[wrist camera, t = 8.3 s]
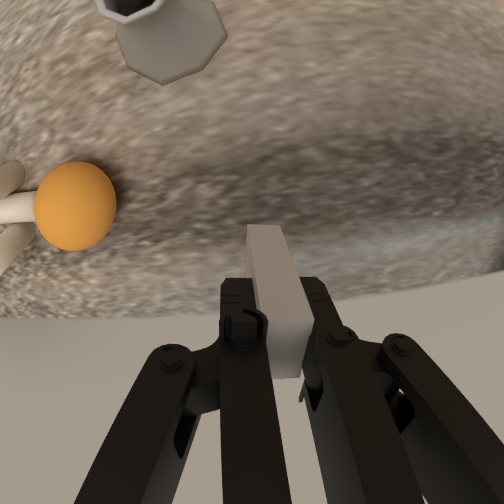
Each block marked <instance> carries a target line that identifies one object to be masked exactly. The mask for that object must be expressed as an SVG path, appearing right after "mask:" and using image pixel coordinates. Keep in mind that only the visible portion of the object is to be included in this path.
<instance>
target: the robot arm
mask: <svg viewBox="0 0 504 504" xmlns="http://www.w3.org/2000/svg"><path fill="white" fill-rule="evenodd" d="M302 369H303V373H304V377H305V379H304V383H303V386H302V389H301V392H300V396H299V402H302V401H303V398H305V402H306V407H307V411H308V415H309V420H310V424H311V429H312V433H313V438H314V442H315V447H316V451H317V456H318V461H319V465H320V469H321V474H322V479H323V484H324V488H325V493H326V497H327V503H328V504H425V503H424V500H423V496H424V498H425V499H426V501H427V502H428V504H504V444H503V443H502V442H501V440H500V439H499V438H498V437H497V435H496V434H495V433H494V432H493V430H492V429H491V428H490V427H489V425H488V424H487V423H486V422H485V420H484V419H483V418H482V417H481V416H480V414H479V413H478V412H477V411H476V410H475V408H474V407H473V406H472V405H471V404H470V403H469V401H468V400H467V399H466V398H465V397H464V395H463V394H462V393H461V392H460V391H459V390H458V388H456V386H455V385H454V384H453V383H452V381H451V380H450V379H449V378H448V377H447V376H446V375H445V374H444V373H443V371H442V370H441V369H440V368H439V367H438V366H437V365H436V363H435V362H434V361H433V360H432V359H431V358H430V357H429V356H428V355H427V354H426V352H425V351H423V349H422V348H421V347H420V346H419V345H418V344H417V343H416V342H415V341H414V340H413V339H412V338H410V337H408V336H406V335H404V334H398V333H394V334H389V335H388V336H386V337H385V339H384V341H383V343H374V342H368V341H363V340H360V339H359V338H358V336H357V335H356V333H355V332H354V331H353V330H351V329H350V328H348V327H346V326H343V324H342V322H341V320H340V317H339V315H338V313H337V311H336V308H335V306H334V304H333V302H332V301H331V297H330V295H329V294H328V291H327V289H326V287H325V284H324V283H322V282H321V281H320V280H319V279H318V278H317V277H299V275H298V273H297V270H296V267H295V265H294V262H293V259H292V257H291V254H290V251H289V249H288V246H287V243H286V241H285V238H284V236H283V233H282V230H281V228H280V225H251V224H247V242H246V263H245V278H226V279H225V280H224V282H223V283H222V285H221V293H220V320H219V337H218V339H217V340H216V341H215V343H213V344H212V345H210V346H209V347H207V348H204V349H201V350H197V351H193V352H191V351H190V350H189V349H188V348H187V347H184V346H182V345H179V344H167V345H162V346H160V347H158V348H156V349H154V350H153V352H152V353H151V354H150V355H149V357H148V358H147V360H146V362H145V364H144V366H143V368H142V369H141V371H140V373H139V375H138V377H137V379H136V380H135V382H134V384H133V386H132V388H131V390H130V392H129V394H128V395H127V397H126V399H125V401H124V403H123V405H122V407H121V409H120V411H119V413H118V414H117V416H116V418H115V420H114V422H113V424H112V426H111V428H110V430H109V432H108V434H107V436H106V438H105V440H104V442H103V444H102V446H101V448H100V450H99V452H98V454H97V456H96V458H95V460H94V462H93V464H92V466H91V468H90V470H89V472H88V474H87V477H86V479H85V481H84V483H83V485H82V487H81V489H80V491H79V493H78V496H77V498H76V500H75V502H74V504H172V501H173V498H174V495H175V492H176V489H177V487H178V484H179V480H180V477H181V474H182V472H183V469H184V466H185V463H186V459H187V456H188V453H189V450H190V447H191V444H192V441H193V438H194V435H195V432H196V429H197V426H198V423H199V420H200V417H201V414H204V413H208V412H211V411H215V410H218V409H220V428H221V462H222V463H221V464H222V489H223V504H292V501H291V495H290V489H289V483H288V477H287V471H286V465H285V458H284V452H283V445H282V439H281V433H280V426H279V420H278V415H277V408H276V402H275V396H274V389H273V383H272V379H282V378H283V379H284V378H299V377H300V374H301V370H302ZM399 389H401V390H402V391H403V393H404V394H402V393H401V392H399ZM421 493H422V494H421ZM422 495H423V496H422Z"/></svg>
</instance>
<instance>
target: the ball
mask: <svg viewBox="0 0 504 504" xmlns="http://www.w3.org/2000/svg"><path fill="white" fill-rule="evenodd" d="M115 213H116V195H115V191H114V188H113V185H112V183H111V181H110V179H109V178H108V177H107V175H106V174H105V173H104V172H103V171H102V170H101V169H99V168H98V167H96V166H94V165H92V164H90V163H86V162H80V161H73V162H68V163H64V164H62V165H60V166H58V167H56V168H54V169H53V170H52V171H50V172H49V173H48V174H47V175H46V177H45V178H44V179H43V180H42V182H41V184H40V186H39V187H38V190H37V193H36V196H35V201H34V215H35V220H36V223H37V226H38V228H39V230H40V232H41V234H42V235H43V236H44V237H45V239H46V240H47V241H49V242H50V243H51V244H52V245H54V246H56V247H58V248H60V249H63V250H68V251H79V250H84V249H87V248H89V247H91V246H93V245H95V244H96V243H98V242H99V241H100V240H101V239H102V238H103V237H104V236H105V235H106V234H107V232H108V231H109V229H110V227H111V225H112V223H113V220H114V218H115Z"/></svg>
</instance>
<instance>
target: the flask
mask: <svg viewBox="0 0 504 504" xmlns="http://www.w3.org/2000/svg"><path fill="white" fill-rule="evenodd" d="M94 2H95V5H96V8H97V11H98V14H99V15H100V16H101V17H104V18H107V19H109V20H112V21H114V22H117V23H118V26H117V30H116V38H117V40H118V43H119V46H120V48H121V51H122V53H123V56H124V59H125V61H126V64H127V66H128V68H129V69H131V70H133V71H135V72H137V73H139V74H141V75H143V76H145V77H147V78H149V79H151V80H153V81H155V82H157V83H158V84H160V85H162V86H163V85H165V84H167V83H170V82H172V81H174V80H177V79H179V78H182V77H184V76H187V75H189V74H192V73H194V72H197V71H200V70H202V69H204V67H205V66H206V64H207V63H208V62H209V60H210V59H211V58H212V56H213V55H214V54H215V52H216V51H217V50H218V48H219V47H220V46H221V44H222V43H223V42H224V40H225V39H226V38H227V37H228V35H227V33H226V30H225V28H224V25H223V23H222V21H221V18H220V16H219V13H218V11H217V8H216V6H215V4H214V2H212V1H210V0H94Z"/></svg>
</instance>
